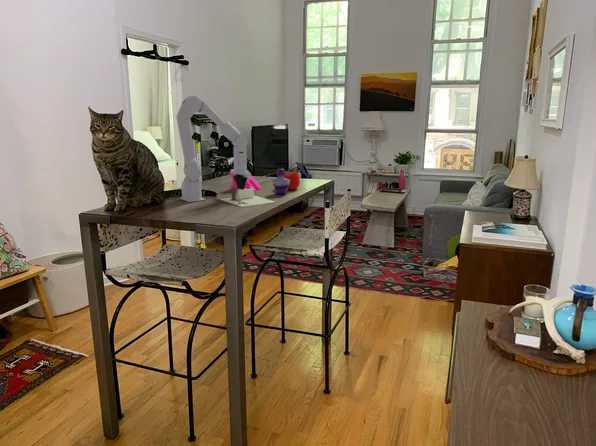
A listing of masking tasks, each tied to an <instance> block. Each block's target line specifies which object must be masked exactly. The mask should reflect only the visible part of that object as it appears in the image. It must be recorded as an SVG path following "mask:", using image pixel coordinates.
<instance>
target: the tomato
mask: <svg viewBox="0 0 596 446" xmlns="http://www.w3.org/2000/svg"><path fill="white" fill-rule="evenodd" d="M285 172H286V175H284V178H286V179H289V180H290V183H289V188H288V189H287V191H288V190H289V191H295V190H297V188H299V186H300V183H301V181H300V180H301V179H300V178H301V177H300V175H299V172H297V171H293V172H290V171H285ZM294 189H295V190H294Z"/></svg>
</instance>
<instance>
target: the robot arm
mask: <svg viewBox="0 0 596 446" xmlns="http://www.w3.org/2000/svg"><path fill="white" fill-rule="evenodd" d="M195 113H200V114H203V115H206V117H208V118H209V119H210V120H211V121H212V122H214V124H216V126H218V127H219V132H220V133H221V134H222V135H223V136H224V137H225V138H227V140H228V141H229V142H231V144H232V145H233V169H234V170H232V169H230V170H231V173H230V175H231V174H235V175H236V176H233V178H234V180H235V182H236V185H237V188H238V189H241V190H244V188H245V184H246V181H247V179H248V178H249V177H251V175H252V173H251V172H250V171H249V170H248V166H247V164H248V162H247V158H248V157H247V155H248V154H247V146H248V143H249V141H248V139H247V136H245V135H243V134H242V131H241V130H238V129H237V128H236V127H235V126H234V123H233V122H230V121H228V120H227V121H226V120H225V121H224V119H223V118H222V117H220V115H218V113H216V112H215V110H214V109H213V108H212V107H211V106H210V105H209V104H208V103H206V102H205V101H204V100H202V99H201V98H200V97H199V96H196V95H191V96H187V97H186V98H185V99H184V100H182V102H181V104H180V107H179V110H178V112H177V114H176V122H177V126H178V127H177V128H178V132H179V134H178V135H179V138H180V139H179V140H180V145H181V150H182V156H183V162H184V167H183V173H184V175H185V176H184V178H183V181H182V182H181V184H180V185H181V197H179V198H180V200H183V201H185V202H188V203H192V202H193V203H194V202H200V201H206V198H205V197H202V196H203V195H202V178H201V175H202V171H201V169H200V167H199V165H198V161H197V158H196V154H195V148H194V142H193V138H192V132H191V126H190V119H191V118H192V117H193V116H194V114H195Z"/></svg>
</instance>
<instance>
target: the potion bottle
mask: <svg viewBox="0 0 596 446" xmlns="http://www.w3.org/2000/svg"><path fill="white" fill-rule="evenodd" d="M286 172H287V171H285V169H284V168H277V170H276V172H275V175H276V176H277V177H276V178H273V179H271V183H272V186H273V189H274V192H275V193H274V194H275V195H276V194H277V195H276V196H286V195H287V192H288V190H287V189H288V188H289V183H290V180H289V179H286V178H284V175H286ZM285 194H286V195H285Z"/></svg>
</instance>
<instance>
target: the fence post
mask: <svg viewBox="0 0 596 446" xmlns="http://www.w3.org/2000/svg"><path fill="white" fill-rule="evenodd" d="M230 191H231V198H232V200H236V197H237V191H236V188H234V187H233V188H231V187H230Z"/></svg>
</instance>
